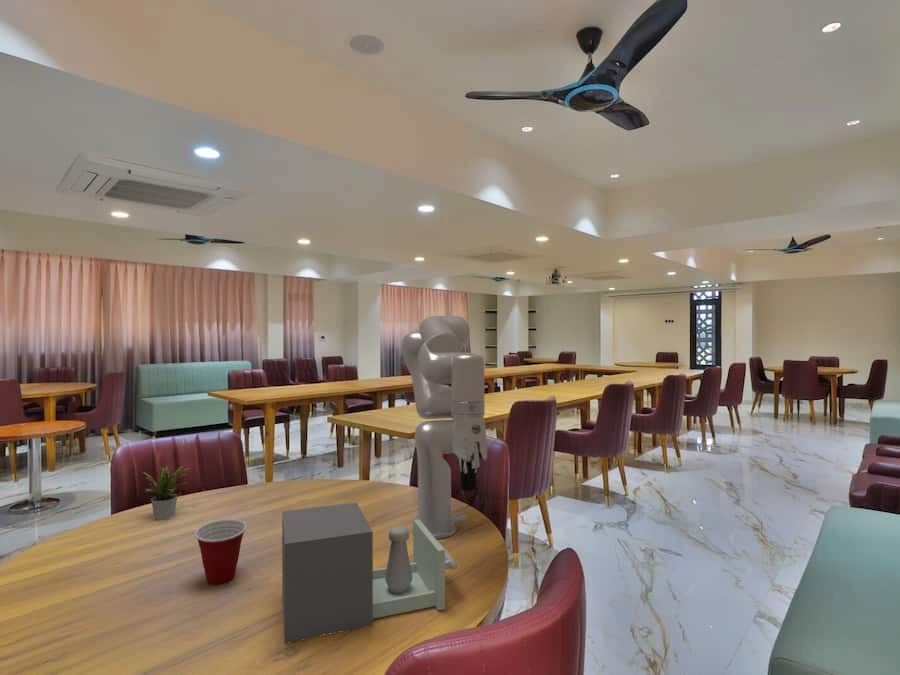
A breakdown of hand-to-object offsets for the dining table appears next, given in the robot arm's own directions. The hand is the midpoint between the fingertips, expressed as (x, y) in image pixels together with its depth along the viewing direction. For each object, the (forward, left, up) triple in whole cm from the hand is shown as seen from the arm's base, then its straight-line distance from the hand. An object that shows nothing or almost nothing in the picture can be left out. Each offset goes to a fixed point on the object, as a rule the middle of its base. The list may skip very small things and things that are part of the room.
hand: (468, 489), depth 110 cm
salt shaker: (+16, 0, -20) cm, 26 cm away
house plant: (+72, -70, -21) cm, 102 cm away
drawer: (+15, 0, -21) cm, 26 cm away
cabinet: (+32, 0, -21) cm, 38 cm away
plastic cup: (+53, -21, -21) cm, 61 cm away
